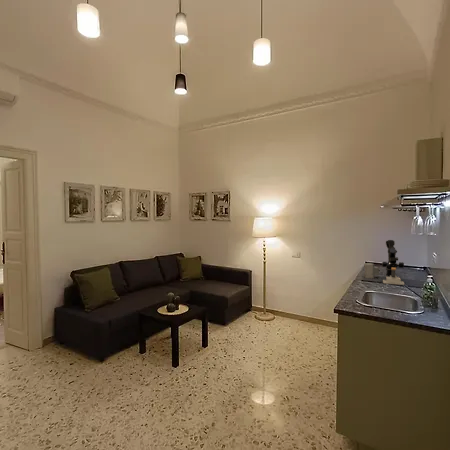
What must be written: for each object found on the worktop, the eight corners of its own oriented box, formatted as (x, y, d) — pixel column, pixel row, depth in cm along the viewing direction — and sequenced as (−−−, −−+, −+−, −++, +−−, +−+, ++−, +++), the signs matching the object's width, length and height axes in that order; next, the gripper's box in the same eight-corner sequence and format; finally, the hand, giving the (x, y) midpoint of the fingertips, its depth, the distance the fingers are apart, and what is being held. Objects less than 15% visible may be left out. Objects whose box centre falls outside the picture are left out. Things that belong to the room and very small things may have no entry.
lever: (391, 276, 291) (391, 267, 287) (395, 276, 289) (395, 267, 285) (391, 277, 289) (391, 268, 285) (395, 277, 287) (396, 268, 283)
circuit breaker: (380, 278, 308) (380, 264, 308) (366, 278, 311) (366, 264, 310) (378, 276, 316) (378, 263, 315) (364, 276, 319) (364, 263, 318)
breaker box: (382, 281, 298) (382, 274, 297) (403, 282, 290) (403, 275, 290) (383, 283, 289) (383, 276, 288) (404, 285, 281) (404, 277, 281)
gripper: (382, 253, 295) (383, 266, 286) (403, 254, 287) (405, 267, 278) (382, 260, 303) (382, 272, 294) (402, 260, 295) (404, 273, 285)
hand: (393, 271), depth 287 cm, fingers closed, pressing on lever
